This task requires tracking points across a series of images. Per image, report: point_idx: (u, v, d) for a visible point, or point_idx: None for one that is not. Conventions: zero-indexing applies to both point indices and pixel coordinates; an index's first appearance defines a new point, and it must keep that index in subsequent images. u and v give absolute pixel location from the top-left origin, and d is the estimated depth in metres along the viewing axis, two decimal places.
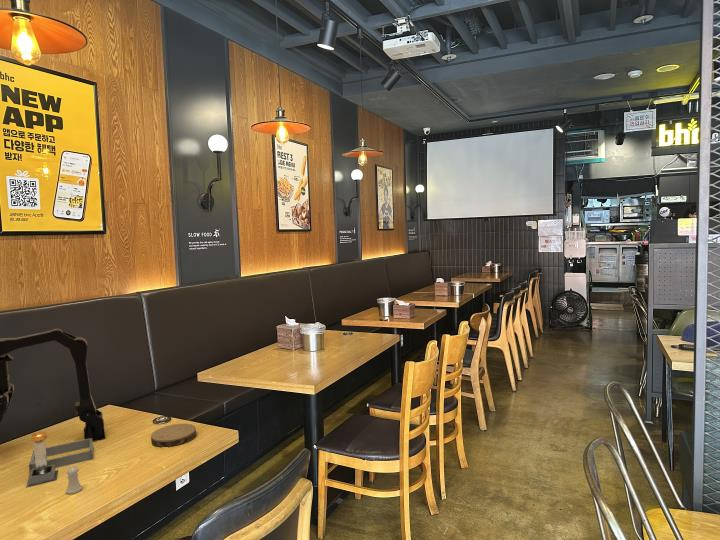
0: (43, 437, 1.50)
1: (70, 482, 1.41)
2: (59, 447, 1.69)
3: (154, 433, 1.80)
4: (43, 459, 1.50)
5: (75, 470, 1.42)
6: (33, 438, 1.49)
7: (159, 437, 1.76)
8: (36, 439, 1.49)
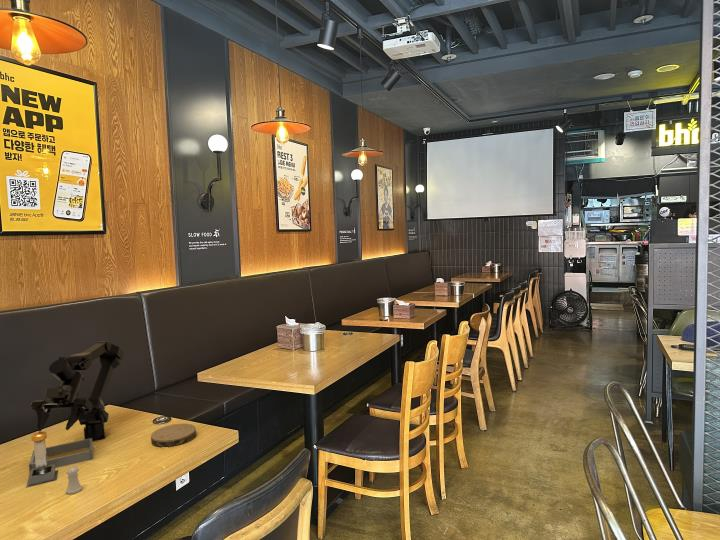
0: (43, 437, 1.50)
1: (70, 482, 1.41)
2: (59, 447, 1.69)
3: (154, 433, 1.80)
4: (43, 459, 1.50)
5: (75, 470, 1.42)
6: (33, 438, 1.49)
7: (159, 437, 1.76)
8: (36, 439, 1.49)
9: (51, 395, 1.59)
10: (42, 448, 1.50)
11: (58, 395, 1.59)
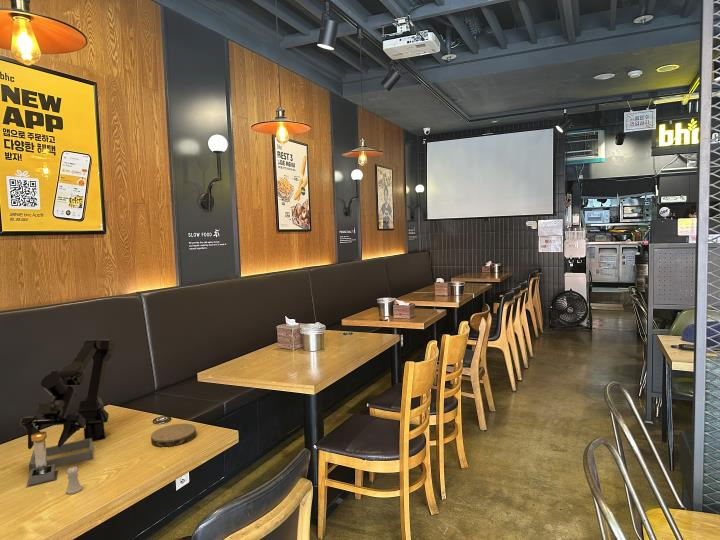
0: (43, 437, 1.50)
1: (70, 482, 1.41)
2: (59, 447, 1.69)
3: (154, 433, 1.80)
4: (43, 459, 1.50)
5: (75, 470, 1.42)
6: (33, 438, 1.49)
7: (159, 437, 1.76)
8: (36, 439, 1.49)
9: (43, 411, 1.53)
10: (42, 448, 1.50)
11: (50, 411, 1.53)
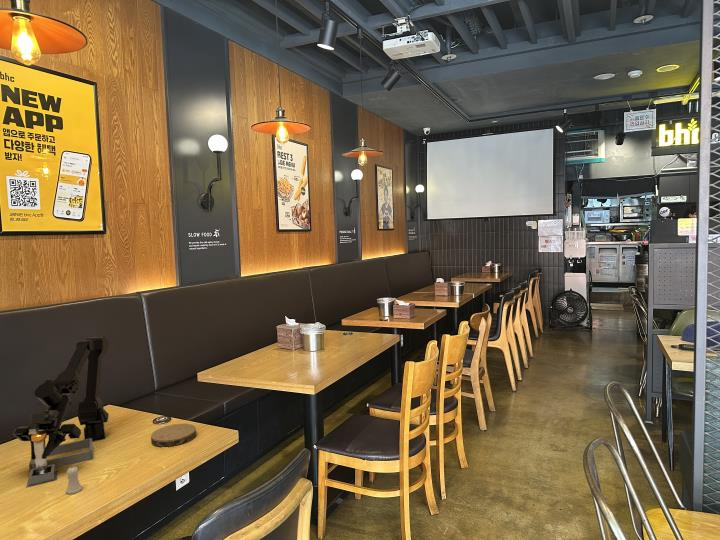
0: (43, 437, 1.50)
1: (70, 482, 1.41)
2: (59, 447, 1.69)
3: (154, 433, 1.80)
4: (43, 459, 1.50)
5: (75, 470, 1.42)
6: (33, 438, 1.49)
7: (159, 437, 1.76)
8: (36, 439, 1.49)
9: (37, 421, 1.50)
10: (42, 448, 1.50)
11: (44, 421, 1.50)
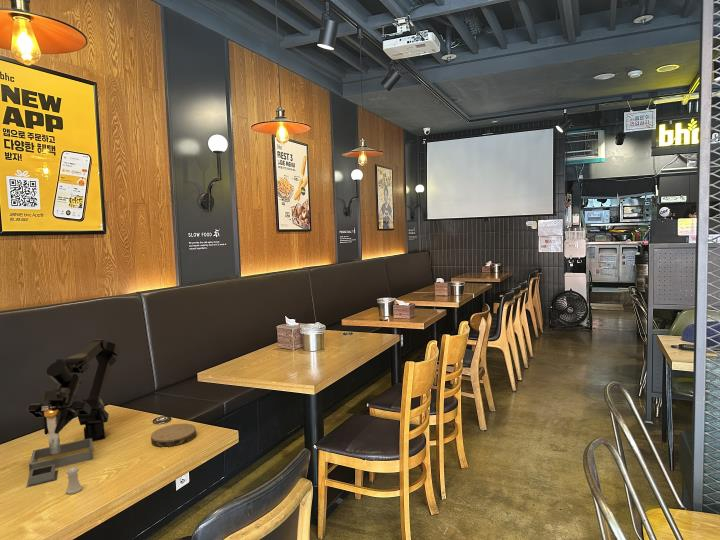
0: (55, 413, 1.57)
1: (70, 482, 1.41)
2: None
3: (154, 433, 1.80)
4: (56, 434, 1.57)
5: (75, 470, 1.42)
6: (46, 414, 1.56)
7: (159, 437, 1.76)
8: (49, 415, 1.56)
9: (49, 398, 1.57)
10: (54, 423, 1.57)
11: (56, 398, 1.57)
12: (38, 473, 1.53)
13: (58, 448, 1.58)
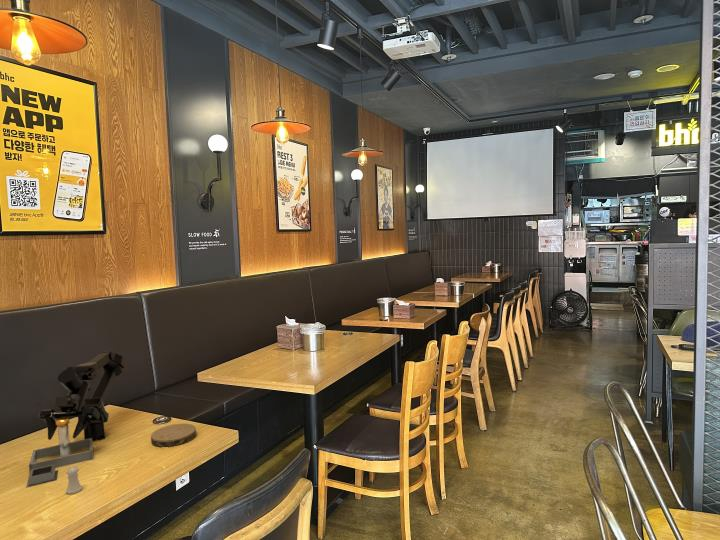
0: (66, 422, 1.63)
1: (70, 482, 1.41)
2: (59, 447, 1.69)
3: (154, 433, 1.80)
4: (66, 442, 1.63)
5: (75, 470, 1.42)
6: (57, 423, 1.61)
7: (159, 437, 1.76)
8: (60, 424, 1.61)
9: (60, 404, 1.62)
10: (65, 432, 1.63)
11: (67, 404, 1.63)
12: (38, 473, 1.53)
13: None
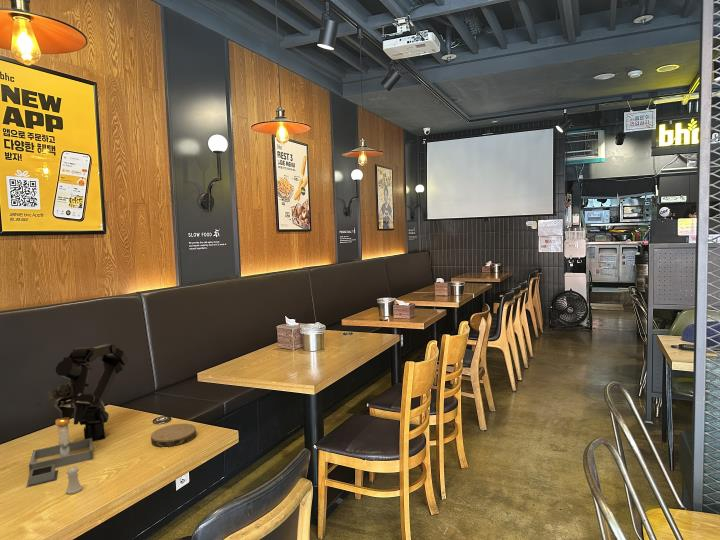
0: (66, 422, 1.63)
1: (70, 482, 1.41)
2: (59, 447, 1.69)
3: (154, 433, 1.80)
4: (66, 442, 1.63)
5: (75, 470, 1.42)
6: (57, 423, 1.62)
7: (159, 437, 1.76)
8: (60, 424, 1.62)
9: (51, 397, 1.67)
10: (65, 432, 1.63)
11: (55, 397, 1.66)
12: (38, 473, 1.53)
13: None
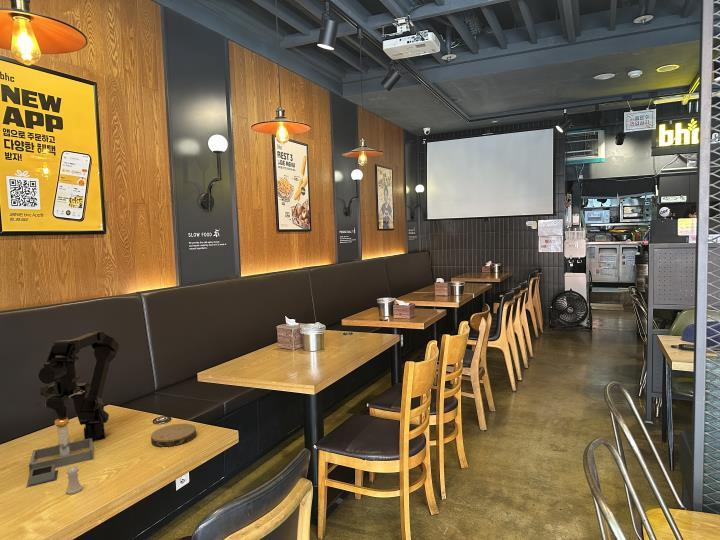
0: (65, 422, 1.62)
1: (70, 482, 1.41)
2: None
3: (154, 433, 1.80)
4: (66, 442, 1.63)
5: (75, 470, 1.42)
6: (56, 423, 1.61)
7: (159, 437, 1.76)
8: (59, 424, 1.61)
9: None
10: (65, 432, 1.63)
11: (44, 396, 1.68)
12: (38, 473, 1.53)
13: None
